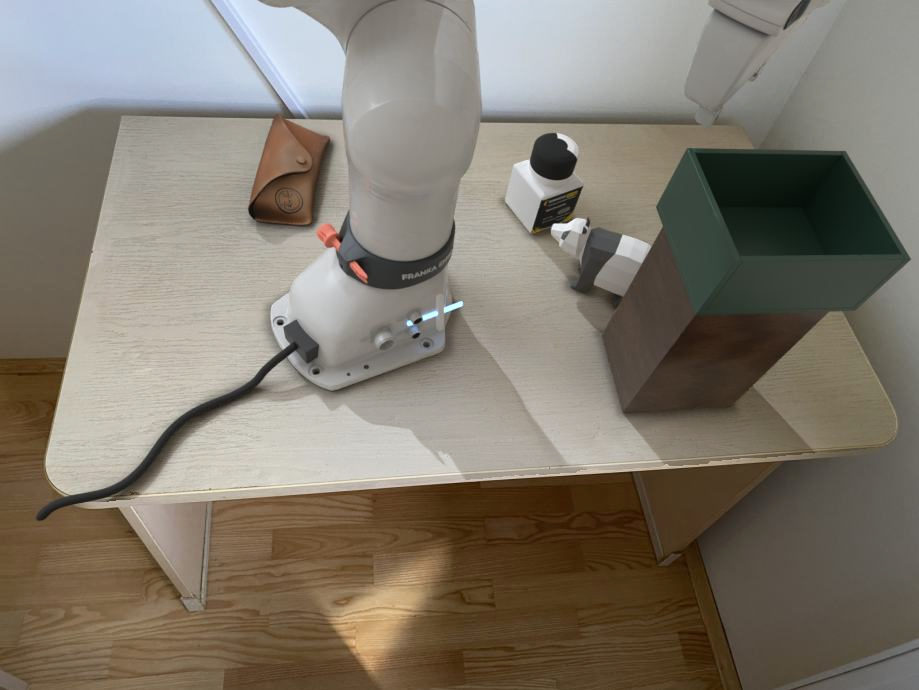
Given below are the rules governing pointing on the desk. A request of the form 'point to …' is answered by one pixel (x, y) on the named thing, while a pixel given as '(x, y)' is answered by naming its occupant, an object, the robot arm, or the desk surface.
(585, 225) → the giant panda
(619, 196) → the desk surface
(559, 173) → the medicine bottle
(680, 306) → the stand
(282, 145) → the sunglasses case
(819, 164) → the bin
